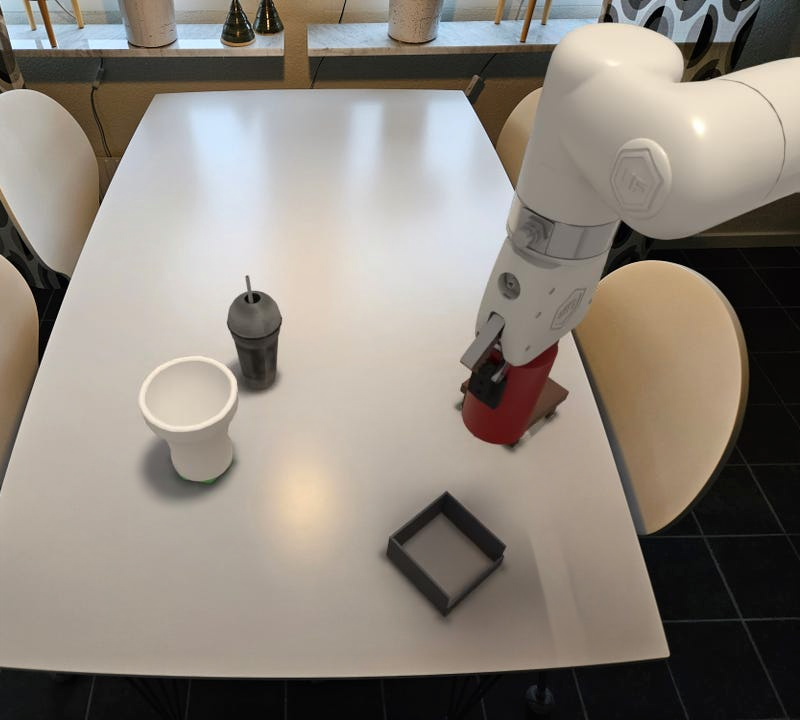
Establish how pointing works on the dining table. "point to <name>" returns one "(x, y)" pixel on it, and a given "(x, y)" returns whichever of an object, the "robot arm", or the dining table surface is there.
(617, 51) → the robot arm
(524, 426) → the can
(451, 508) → the dark square frame
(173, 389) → the cup
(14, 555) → the dining table surface
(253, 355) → the beverage cup
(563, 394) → the stool
